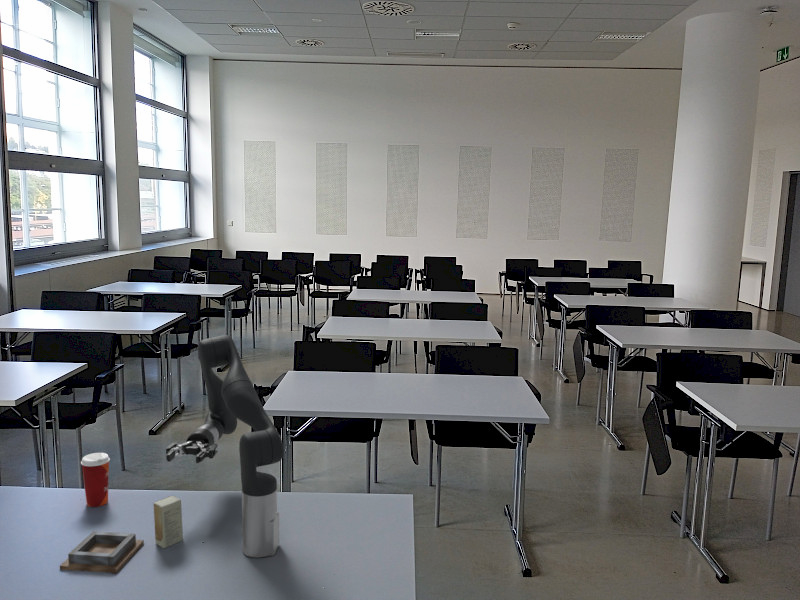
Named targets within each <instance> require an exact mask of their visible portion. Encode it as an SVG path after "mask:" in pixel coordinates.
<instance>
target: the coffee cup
mask: <svg viewBox="0 0 800 600" xmlns="http://www.w3.org/2000/svg"><path fill="white" fill-rule="evenodd" d="M110 461H111V458H110V456H109V455H108V453H106V452H93V453H88V454H86V455H85V456H83V457H82V458H81V460H80V465H81V467H82V475H83V484H84V493H85V500H86V505H87V506H88V507H89V506H90V508H98V506H99V507H102V506H104V505H106V504H107V503H108V502H109V501H108V500H109V477H110V476H109V475H110V474H109V473H110V471H109V470H110V469H109V466H110Z"/></svg>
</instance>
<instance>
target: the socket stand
mask: <svg viewBox="0 0 800 600" xmlns="http://www.w3.org/2000/svg"><path fill="white" fill-rule="evenodd" d="M136 538H137V537H136V533H129V532H128V533H125V532H110V531H109V532H108V531H107V532H106V531H94V530H93V531H92V532H91V533H90V534H89V535H87V536H86V537H85V538H84V539H83V540H82V541H81V542H80V543H79V544H77V546H75V547H74V548H73V549H72V550H71V551H70V552H69V553H68V554H67V556H68V557H67V558H66V559H65V561H63V562H62V563H61V564H60V565H59V570H60V571H63V570H64V571H76V572H77V571H79V572H93V573H109V574H111V573H112V574H117V573H118V572H119V571H120V570H121V569H122V568H123V567H124V566H125V565H126V564H127V563H128V562H129V561H130V560H131V558H132V557H133V556H134V555H135V554H136V553H137V551H138V550H139V549H140V548H141V547H142V546H143V545H144V542H145V541H144V539H136Z"/></svg>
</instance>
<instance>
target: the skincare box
mask: <svg viewBox="0 0 800 600" xmlns="http://www.w3.org/2000/svg"><path fill="white" fill-rule="evenodd" d="M182 510H183V509H182V499H181V498H179V497H177V496H175V495H169V496H168V497H164V498H162V499H159V500H156V501H154V502H153V515H154V516H153V519H154V522H153V523H154V536H155V537H154V539H155V544H156V545H157V546H159V547H160V548H163V549H166V548H168V547H171V546H173V545H175V544H177V543H180V542H182V541H183V540H184V532H183V512H182Z"/></svg>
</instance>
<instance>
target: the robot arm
mask: <svg viewBox="0 0 800 600" xmlns="http://www.w3.org/2000/svg"><path fill="white" fill-rule="evenodd" d="M197 352H198V353H197V354H198V360H199V363H200V368H201V373H202V376H203V380H204V384H205V388H206V392H207V402H208V411H209V412H208V413H207V414H206V416H205V419H204V423H203V424H202V425H201V426H199V427H198V428H196V429H195V430H194V431H193V432H192V433H191V434H190V435H189V436H188V437H187V439H186V441H185V442H182V443H181V444H179V442H178V441H173V442H172V443H170V444H169V445H168V446H166V447H165V456H166V461H167V462H172V461H173V460H174V459H175V458H176V457H180V458H182V457H185V456H191V455H193V456H195V464H200V463H201V462H203V461H204V460H206V459H207V458H208V459H211V460H212V459H214V458H215V456H216V455H217V453H218V450H219V449H218V441H219V440H220V439H221V438H222V436H224V435H231V434H233V433H234V432H235V431H236V429H237V426H238V420H239V421H241V422H243V423H244V424H246V425H248V426H249V427H251V428H252V429H253V430H255V431H251V432H245V433H243V434H241V436H240V439H239V446H238V447H239V449H238V450H239V460H240V462H239V463H240V479H241V481H240V482H241V511H242V512H241V513H242V514H241V515H242V517H241V520H242V524H241V525H242V526H241V528H242V529H241V530H242V531H241V532H242V552H243V554H244V555H245V556H247V557H250V558H265V557H270V556H271V557H272V556H274V555H276V552H277V550H278V548H279V546H280V512H278V481H277V478H276V476H274V475H273V474H271V473H267V472H262V471H257V468H260V467H263V466H269V465H273V464H277V463H279V462H281V461H282V459H283V458H284V454H285V451H284V450H285V449H284V443H283V440H282V437H281V435H280V433H279V432H278V431H279V430H278V429H277V428H276V427H275V425H274V423H273V422H272V420H271V419H270V417H269V416H268V414H267V412H266V410H265V409H264V407H263V404H262V402H261V400H260V398H259V395H258V393H257V391H256V388H255V386H254V385H253V382H252V381H251V379H250V377H249V375H248V373H247V371H246V369H245V367H244V365H243V364H244V363H243V362H242V359H241V356H240V354H239V351H238V347H237V346H236V343H235V342H234V339H233V338H232V337H231V336H230V335H229V334H222V335H219V336H214V337H208V338H205V339H201V340H200V341H198V345H197ZM226 365H227V366H229V368H228V370H227V373H226V376H225V377H224V379H221V378H220V377H219V376H218V375H217V374H216V373H215V372H214V371H213V368H214V369H215V368H217V367H222V366H226Z"/></svg>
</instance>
